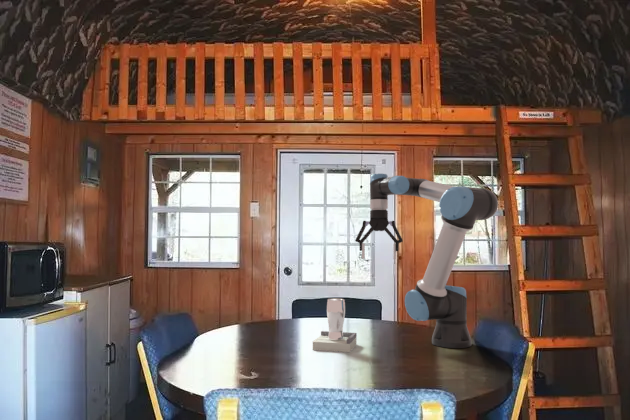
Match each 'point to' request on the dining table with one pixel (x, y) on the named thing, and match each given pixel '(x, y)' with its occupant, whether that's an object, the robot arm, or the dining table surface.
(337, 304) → the beer glass
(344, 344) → the dock
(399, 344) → the dining table surface
